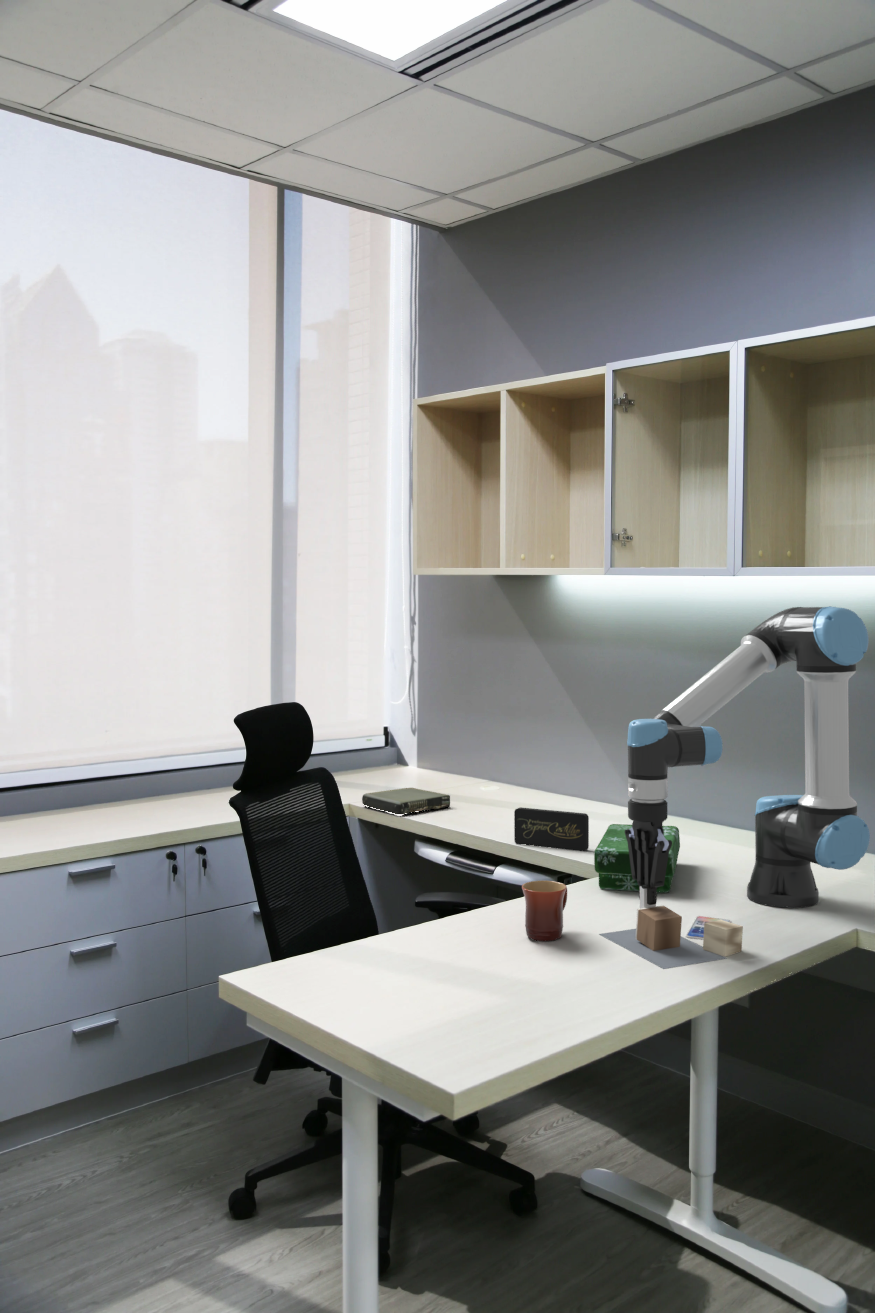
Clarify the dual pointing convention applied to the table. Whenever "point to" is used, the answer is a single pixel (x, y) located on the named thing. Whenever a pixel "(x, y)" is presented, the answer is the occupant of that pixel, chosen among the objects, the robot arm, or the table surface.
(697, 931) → the smartphone
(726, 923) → the maple block
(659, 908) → the walnut cube
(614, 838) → the box
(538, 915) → the mug
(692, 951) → the felt mat
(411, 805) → the network switch
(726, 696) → the robot arm
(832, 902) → the table surface
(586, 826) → the nameplate
